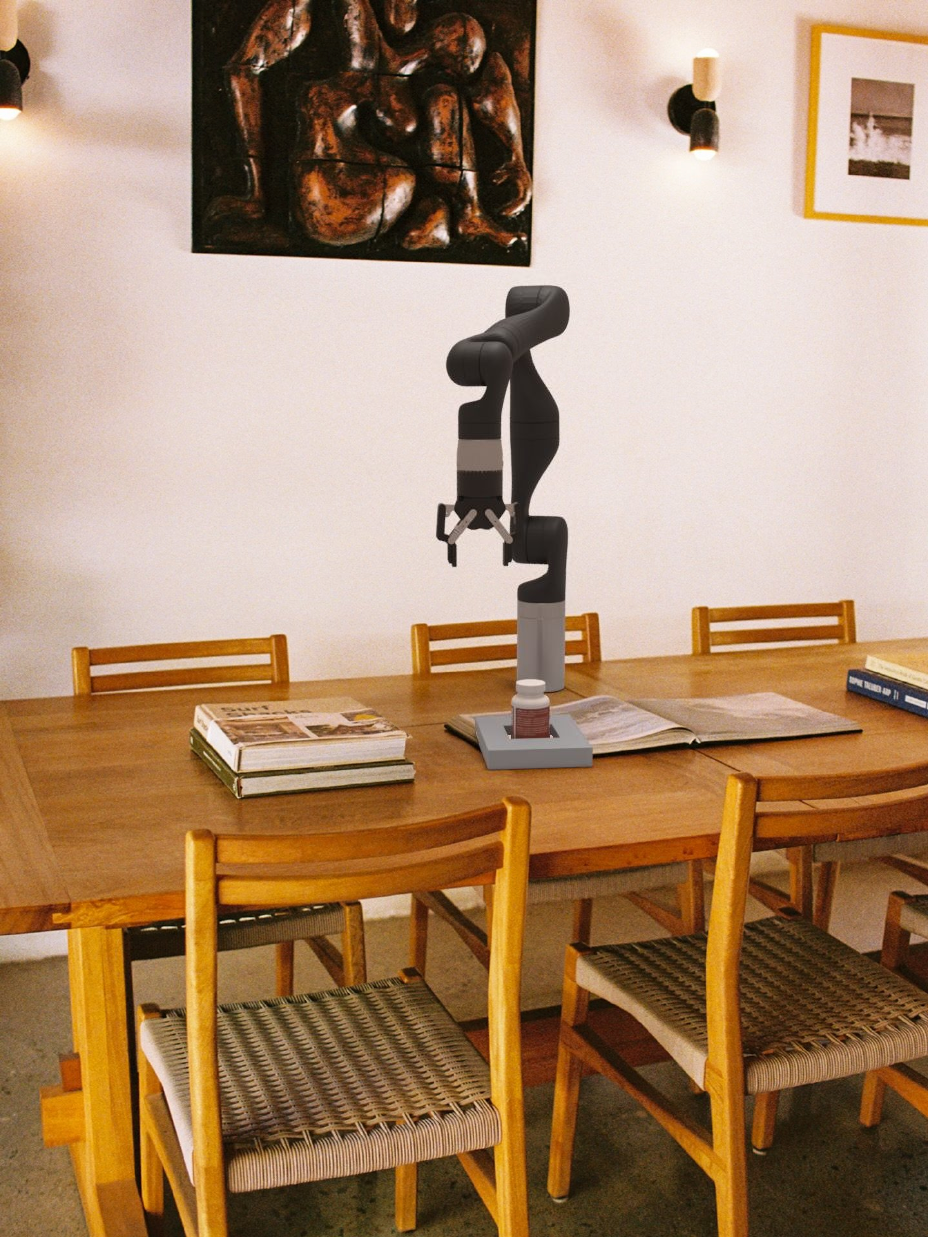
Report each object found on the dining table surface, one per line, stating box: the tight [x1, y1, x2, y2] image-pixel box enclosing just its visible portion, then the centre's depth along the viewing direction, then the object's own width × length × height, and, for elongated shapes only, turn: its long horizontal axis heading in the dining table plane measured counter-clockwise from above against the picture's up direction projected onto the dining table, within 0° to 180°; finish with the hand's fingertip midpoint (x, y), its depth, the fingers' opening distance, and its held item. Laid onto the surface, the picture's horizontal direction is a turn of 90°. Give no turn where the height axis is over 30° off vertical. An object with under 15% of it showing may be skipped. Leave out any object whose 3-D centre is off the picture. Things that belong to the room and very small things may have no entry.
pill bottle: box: [510, 679, 551, 739], centre depth 200 cm, size 6×6×11 cm
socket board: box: [474, 713, 594, 770], centre depth 200 cm, size 20×16×3 cm
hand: (479, 566), depth 207 cm, fingers open, 8 cm apart
